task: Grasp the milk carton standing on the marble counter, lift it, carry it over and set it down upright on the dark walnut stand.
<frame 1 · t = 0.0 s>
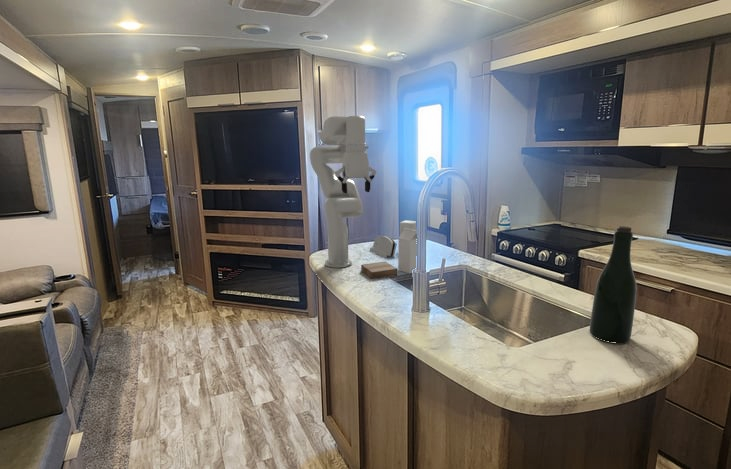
hand: (356, 192, 161), 37 cm above the counter, tool pointing down, fingers open, 9 cm apart
dark green wine bottle: (609, 337, 119), on the counter
grey rounded slab: (383, 253, 210), on the counter
walnut stand: (379, 273, 178), on the counter
skincare box: (409, 250, 215), on the counter
milk carton: (409, 270, 181), on the counter
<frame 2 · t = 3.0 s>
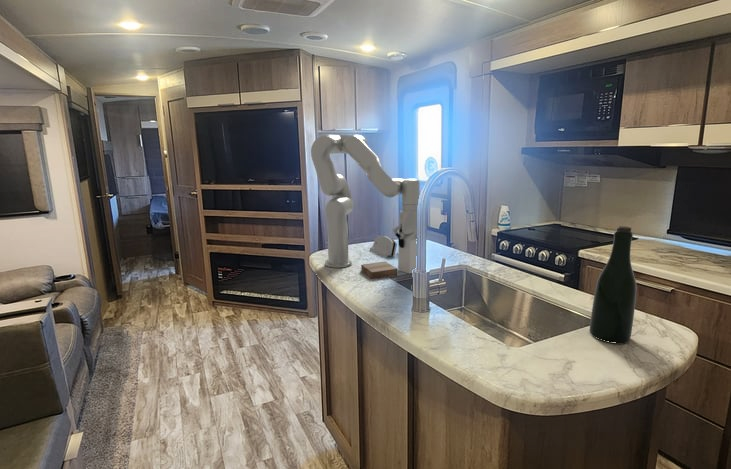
hand: (411, 245, 178), 11 cm above the counter, tool pointing down, fingers open, 9 cm apart
milk carton: (409, 271, 181), on the counter, touching gripper
everything else where it was.
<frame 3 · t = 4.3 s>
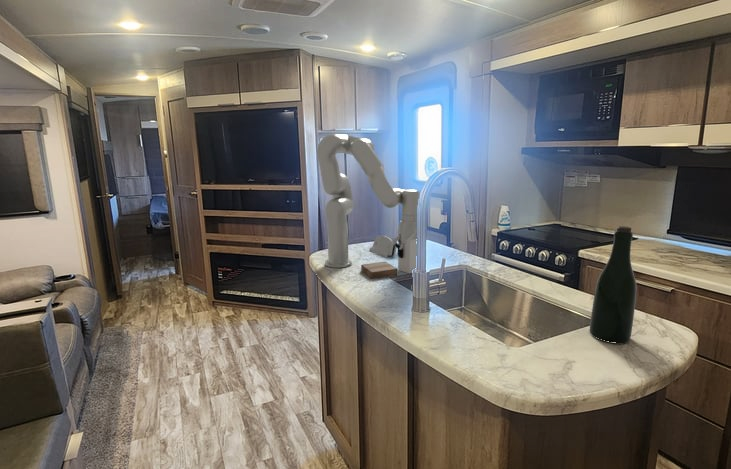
hand: (409, 256, 180), 7 cm above the counter, tool pointing down, fingers closed on milk carton, 8 cm apart
milk carton: (409, 270, 181), on the counter, touching gripper
everything else where it was.
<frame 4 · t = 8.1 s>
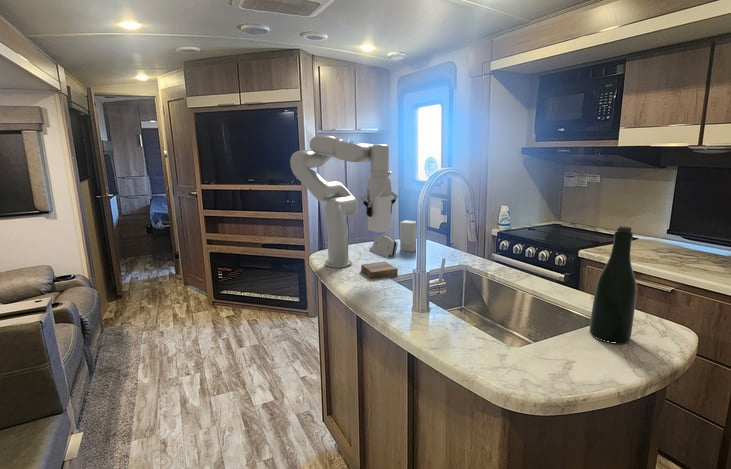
hand: (379, 215, 172), 26 cm above the counter, tool pointing down, fingers closed on milk carton, 8 cm apart
milk carton: (379, 231, 173), point 19 cm above the counter, touching gripper
everything else where it was.
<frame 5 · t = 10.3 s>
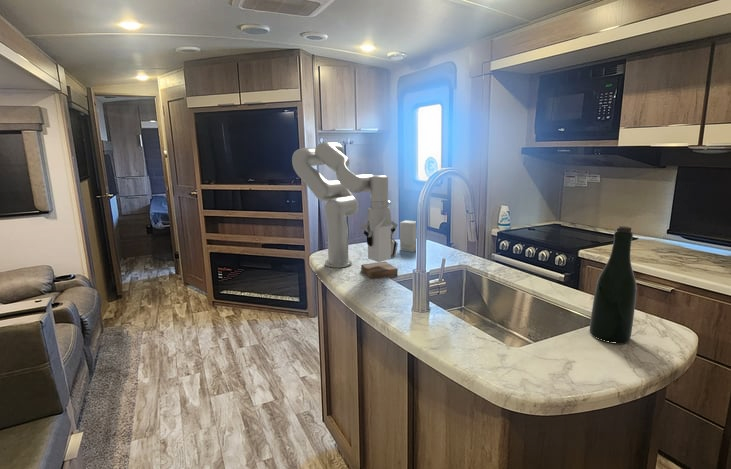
hand: (379, 244, 175), 13 cm above the counter, tool pointing down, fingers closed on milk carton, 8 cm apart
milk carton: (379, 259, 176), point 6 cm above the counter, touching gripper
everything else where it was.
when the fingers open (11 cm above the counter, at t = 11.9 s): milk carton drops 1 cm, resting on walnut stand.
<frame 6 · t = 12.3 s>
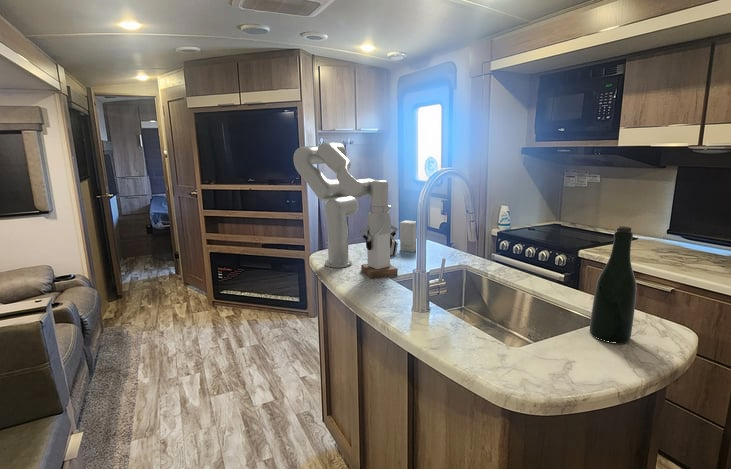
hand: (379, 248, 175), 11 cm above the counter, tool pointing down, fingers open, 9 cm apart
milk carton: (378, 266, 177), point 3 cm above the counter, touching walnut stand
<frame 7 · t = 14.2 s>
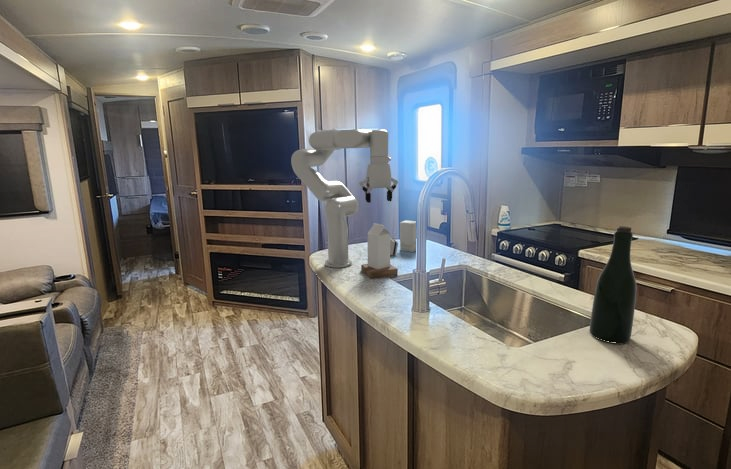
hand: (378, 201, 171), 32 cm above the counter, tool pointing down, fingers open, 9 cm apart
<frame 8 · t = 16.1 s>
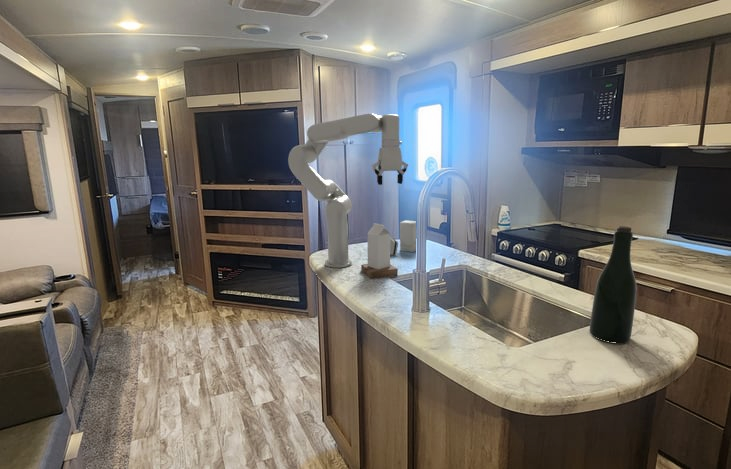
hand: (390, 184, 178), 38 cm above the counter, tool pointing down, fingers open, 9 cm apart
at the end: milk carton inside the target area on the walnut stand (0.2 cm from its centre), point 2.8 cm above the walnut stand's base; milk carton tilted 0°; the gripper is holding nothing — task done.
